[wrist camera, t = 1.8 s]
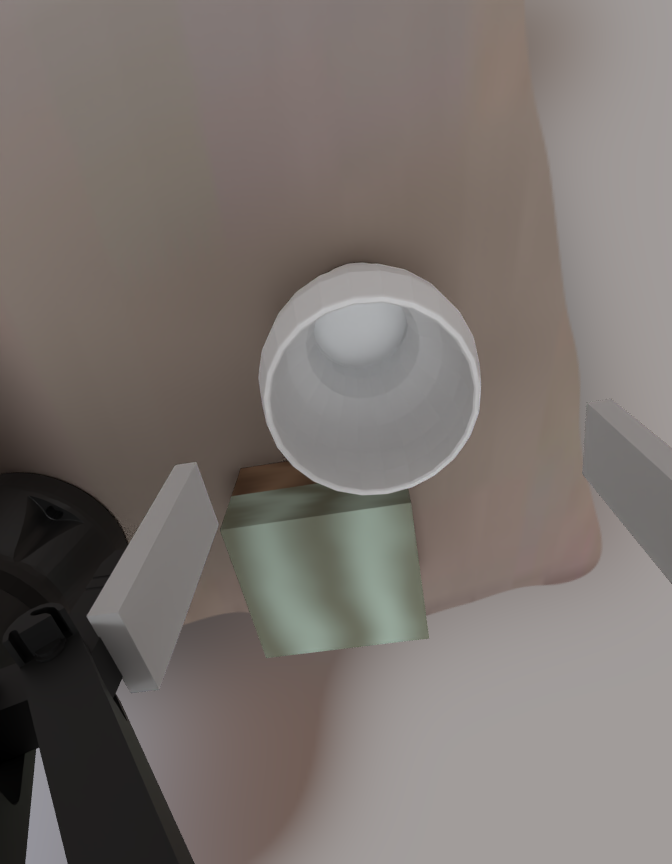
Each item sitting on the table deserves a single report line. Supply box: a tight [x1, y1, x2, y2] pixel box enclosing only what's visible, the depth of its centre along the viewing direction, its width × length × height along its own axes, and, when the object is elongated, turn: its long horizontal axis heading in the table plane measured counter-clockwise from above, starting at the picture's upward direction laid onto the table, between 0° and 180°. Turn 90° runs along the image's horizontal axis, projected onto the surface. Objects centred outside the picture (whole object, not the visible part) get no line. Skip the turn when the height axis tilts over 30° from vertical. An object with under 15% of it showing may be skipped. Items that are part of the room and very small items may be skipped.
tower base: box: [220, 461, 429, 658], centre depth 39 cm, size 13×13×8 cm
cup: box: [258, 262, 481, 495], centre depth 28 cm, size 11×11×15 cm
